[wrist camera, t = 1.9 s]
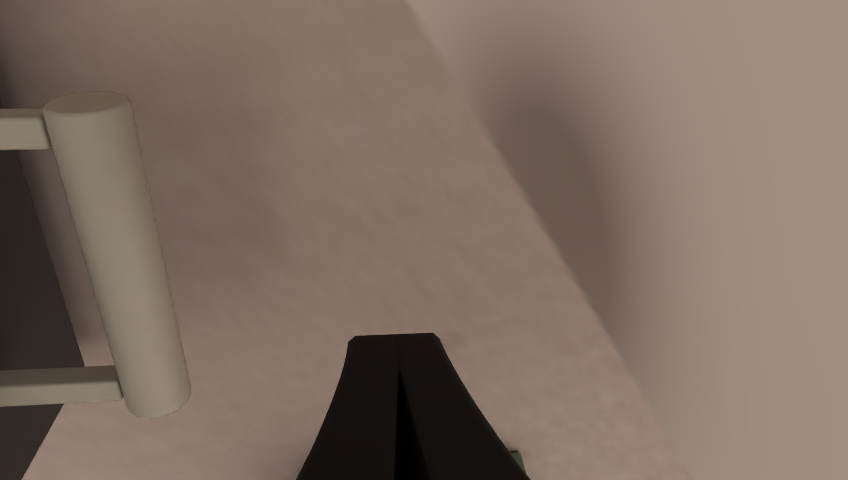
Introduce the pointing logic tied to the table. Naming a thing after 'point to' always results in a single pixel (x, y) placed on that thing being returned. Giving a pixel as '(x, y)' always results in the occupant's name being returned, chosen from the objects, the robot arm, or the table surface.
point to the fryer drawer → (108, 270)
